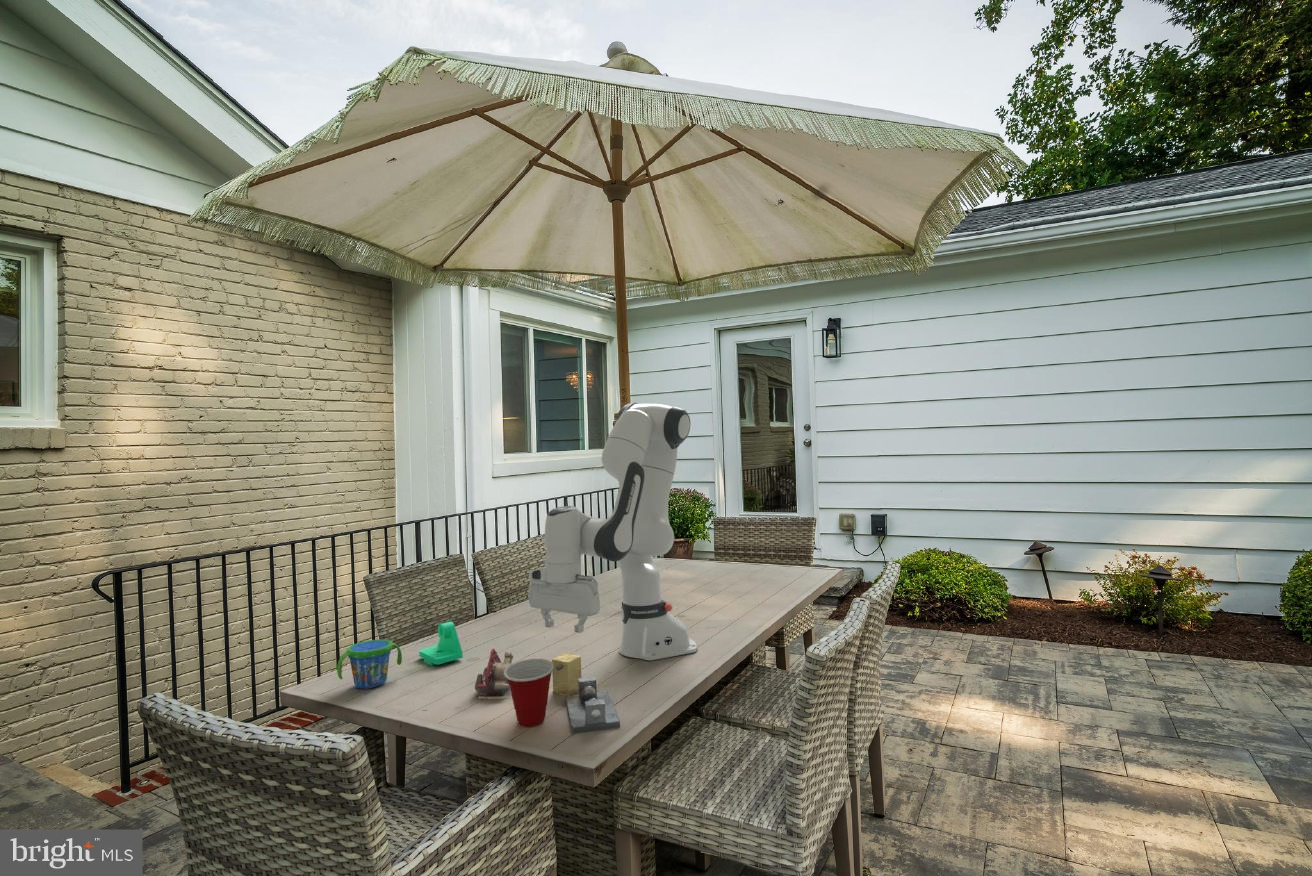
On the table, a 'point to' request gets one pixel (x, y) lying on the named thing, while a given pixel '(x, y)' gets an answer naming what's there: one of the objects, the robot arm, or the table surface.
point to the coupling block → (566, 673)
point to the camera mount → (443, 646)
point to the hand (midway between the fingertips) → (564, 629)
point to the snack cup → (369, 662)
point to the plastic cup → (529, 689)
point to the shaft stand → (591, 708)
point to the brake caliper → (494, 677)
